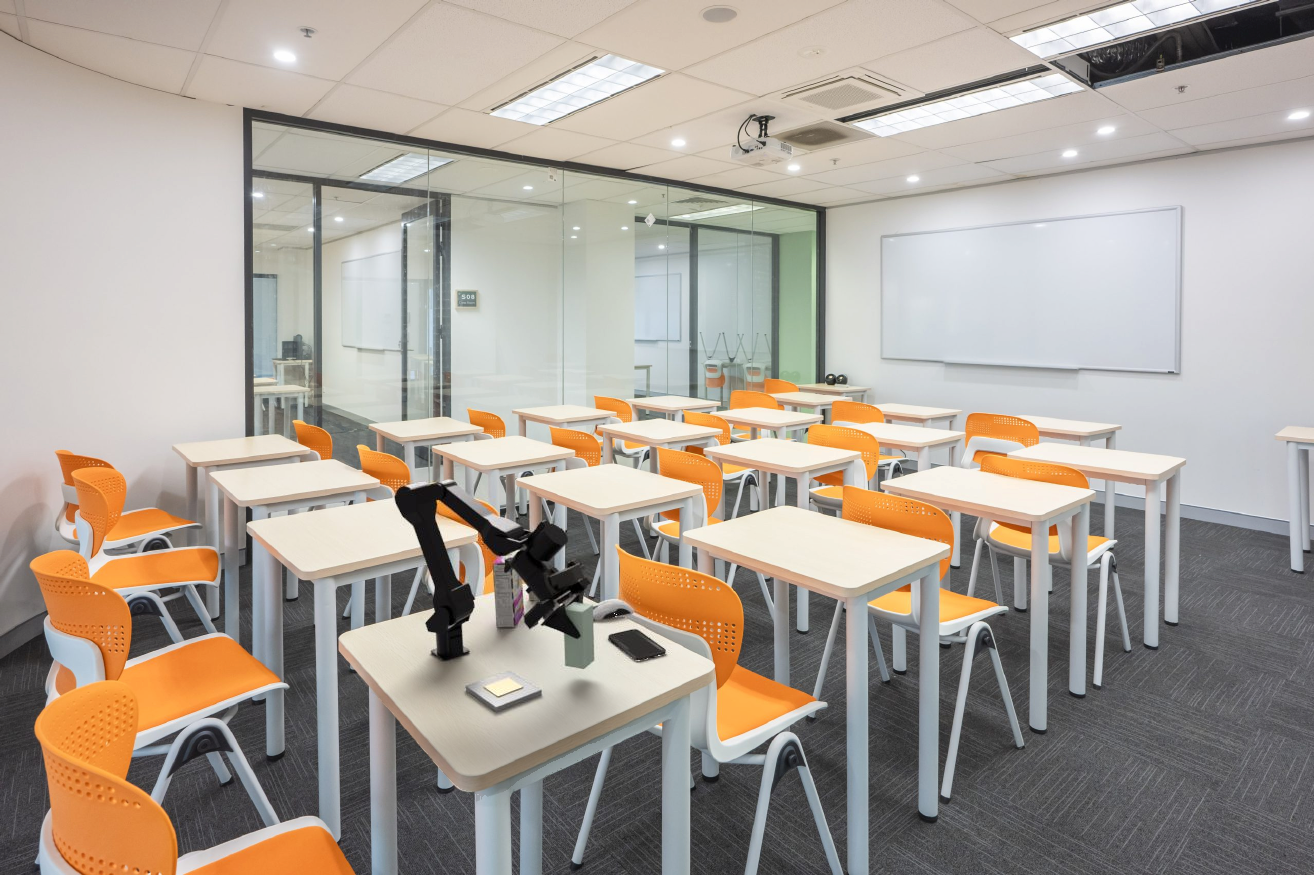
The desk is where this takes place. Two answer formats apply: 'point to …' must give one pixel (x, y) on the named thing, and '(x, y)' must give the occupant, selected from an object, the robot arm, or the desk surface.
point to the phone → (636, 644)
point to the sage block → (582, 648)
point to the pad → (503, 690)
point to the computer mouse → (611, 609)
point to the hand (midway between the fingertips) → (584, 633)
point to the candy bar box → (507, 594)
